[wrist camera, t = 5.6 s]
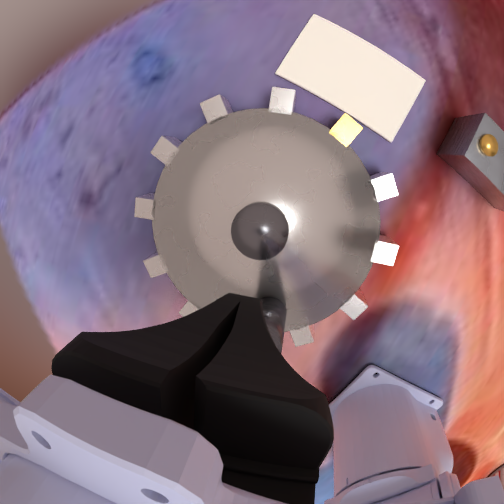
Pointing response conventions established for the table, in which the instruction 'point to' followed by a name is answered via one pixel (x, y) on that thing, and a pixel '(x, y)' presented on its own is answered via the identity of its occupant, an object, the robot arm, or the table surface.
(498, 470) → the soda can
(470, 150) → the gray knob block
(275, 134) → the sprocket
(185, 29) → the table surface
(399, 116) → the pad
